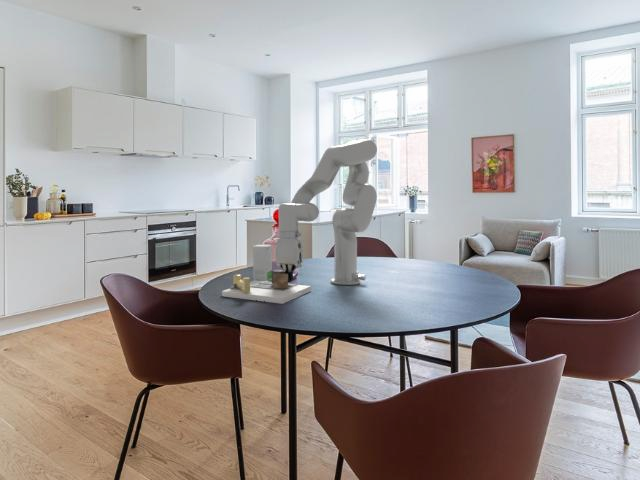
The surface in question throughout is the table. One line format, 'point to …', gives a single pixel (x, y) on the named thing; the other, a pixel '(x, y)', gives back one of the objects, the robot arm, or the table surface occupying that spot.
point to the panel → (268, 292)
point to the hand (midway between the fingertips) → (288, 281)
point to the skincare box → (262, 263)
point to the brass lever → (242, 283)
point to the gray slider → (276, 273)
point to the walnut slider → (280, 280)
